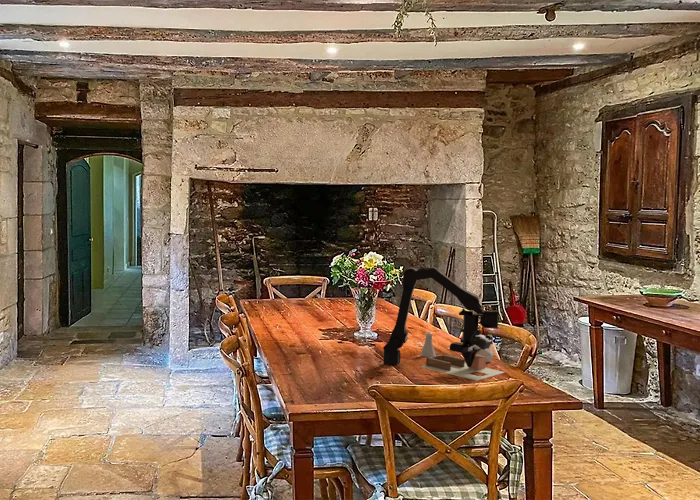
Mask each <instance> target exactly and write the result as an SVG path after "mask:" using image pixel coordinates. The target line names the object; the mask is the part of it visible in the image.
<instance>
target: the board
mask: <svg viewBox="0 0 700 500" xmlns="http://www.w3.org/2000/svg"><path fill="white" fill-rule="evenodd" d="M421 368H423V369H428V370H431V371H435V372H439V373H444V374H448V375H452V376H455V377H456V376H457V377H460V378H464V379H469V380H472V381H476V382H477V381H480V380H484V379H486V378H491V377H493V376H498V375H500V374H503V373H505V371H501V370H498V369H493V368H489V367H485V368H484V369H480V370H477V369H472V368H469V367H467V364H466V362H465V363H464V367H459V366H455V365H451V370H450V371H447V370H443V369H439V368H435V367H431V366H426V365H422V366H421ZM476 372H477V373H482V374H485V375H481V376H479V375H474V374H473V373H476Z"/></svg>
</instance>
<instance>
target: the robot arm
mask: <svg viewBox="0 0 700 500" xmlns="http://www.w3.org/2000/svg"><path fill="white" fill-rule="evenodd" d="M426 279H427V280H428V279H433V280H434V281H435V282H437V284H438V285H440V286H442V287H443V288H444V289H446V291H448V292H449V293H451V294H452V295H453V296H454V297H456V299H457V300H458V301H459V303H460V304H461V305H462V306H463V307H464V308H462V310H461V311H459V312H458V315H459V316H463V323H462V324H463V326H462V328H461V329H460V333H462V339H460V340H459V341H460V342H459V341H457V342H456V341H455V342H452V343H450V344H449V351H451V352H456V353H460V354H461V355H462V357H463V359H464V360H465V363H466V364H467V367H471V365H472V362H473V360H474V357H475V355H476V353H477V352H479V351H480V350H481V349H483V350H485V349H489V347H491V345H493V344H494V340H493V339H494V337H493V335H492V334H487V335H482V331H481V329H479V325H480V326H481V327H482V328H483V329H499V311H498V310H485V309H484V307H483V306H482V305H481V303H480V297H479V296H478V295H477V294H475V293H473V292H471V291H469V290H467V289H465V288H463V287H461V286H460V285H459V284H458V283H456V282H455V281H453V280H452V279H451V278H449V277H448V276H446V274H445V273H443V272H441V271H440V270H439V269H438V268H437V267H435V266H433V267H424V268H417V267H413V266H410V267H408V268H407V269H406V270H404V272H403V274H402V294H401V298H400V302H399V308H398V312H397V318H396V321H395V325H394V327H393V330H392V331H391V334H390V337H389V339H388V342H386V343H385V344H384V346H383V347H382V349H383V362H382V363H381V364H380V366H384V365H387V366H397V365H400V364H401V350H400V349H401V348H402V347H403V346H404V345H405V344H406V343H407V341H408V335H409V333H410V330H407V327H406V326H407V321H408V317H409V316H408V315H409V311H410V306H411V303H412V297H413V293H414V290H415V287H416V286H417V283H418V281H420V280H426ZM479 318H480V323H479ZM478 347H480V349H478Z"/></svg>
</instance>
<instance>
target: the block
mask: <svg viewBox="0 0 700 500" xmlns="http://www.w3.org/2000/svg"><path fill="white" fill-rule="evenodd" d="M486 364H487V362H486V357H485V356H480V355H475V357H474V360H473V362H472V365H471V367H469V368H472V369H477V370H480V369H484V368H486Z"/></svg>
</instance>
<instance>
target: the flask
mask: <svg viewBox="0 0 700 500" xmlns="http://www.w3.org/2000/svg"><path fill="white" fill-rule="evenodd" d="M424 335H425V339H424V344H423V346H422V350H421V352H420V355H419V357H426V358H428V357H433V356H437V354H436V352H435V348H434V345H433V337H434V336H433V335H434V334H433V333H425V334H424Z"/></svg>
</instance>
